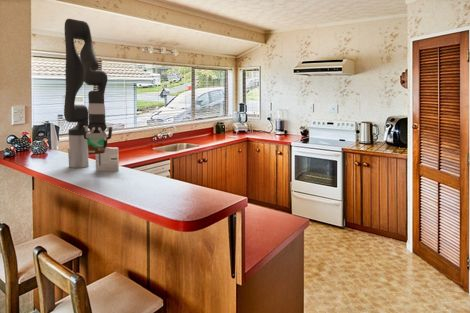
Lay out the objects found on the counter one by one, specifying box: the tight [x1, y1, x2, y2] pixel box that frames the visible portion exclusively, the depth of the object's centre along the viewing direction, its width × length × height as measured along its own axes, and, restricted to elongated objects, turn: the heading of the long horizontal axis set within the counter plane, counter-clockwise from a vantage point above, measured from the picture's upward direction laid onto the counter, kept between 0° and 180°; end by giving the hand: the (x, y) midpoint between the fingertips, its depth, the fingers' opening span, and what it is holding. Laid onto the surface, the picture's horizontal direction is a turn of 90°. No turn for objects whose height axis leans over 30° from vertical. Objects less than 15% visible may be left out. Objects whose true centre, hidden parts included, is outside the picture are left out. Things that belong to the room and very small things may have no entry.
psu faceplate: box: [94, 147, 120, 172], centre depth 184 cm, size 11×2×12 cm, turn 100°
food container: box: [86, 131, 108, 155], centre depth 173 cm, size 12×6×10 cm, turn 169°
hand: (98, 147), depth 174 cm, fingers closed on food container, 5 cm apart
